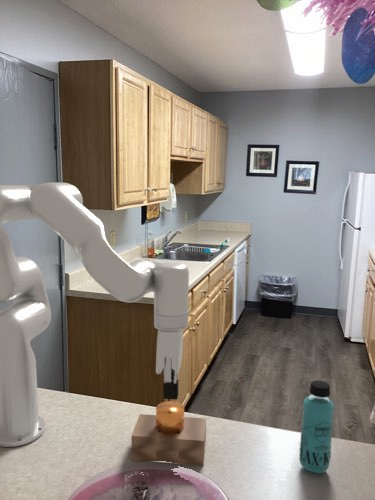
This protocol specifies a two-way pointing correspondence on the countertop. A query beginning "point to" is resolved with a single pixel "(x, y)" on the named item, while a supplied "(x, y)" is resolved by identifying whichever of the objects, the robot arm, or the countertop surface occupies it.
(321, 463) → the beverage bottle
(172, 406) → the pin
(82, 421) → the countertop surface
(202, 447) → the block
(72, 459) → the countertop surface
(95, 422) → the countertop surface
